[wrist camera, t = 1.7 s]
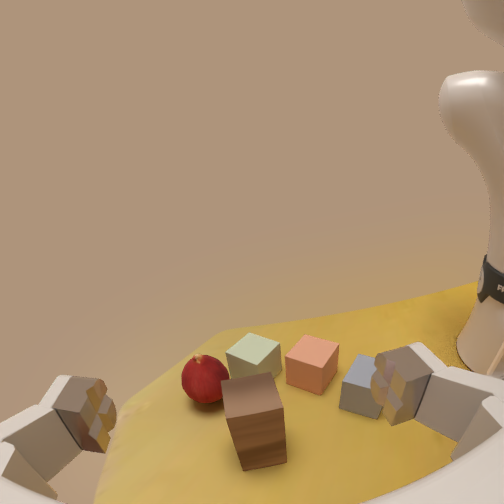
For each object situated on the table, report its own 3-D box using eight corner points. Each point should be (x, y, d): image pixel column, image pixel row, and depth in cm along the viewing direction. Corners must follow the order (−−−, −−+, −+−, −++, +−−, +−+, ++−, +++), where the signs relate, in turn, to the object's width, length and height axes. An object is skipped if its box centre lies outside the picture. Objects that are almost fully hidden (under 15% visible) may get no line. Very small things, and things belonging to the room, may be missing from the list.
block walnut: (286, 462, 23) (283, 407, 20) (243, 471, 22) (225, 418, 19) (277, 431, 27) (270, 371, 24) (237, 439, 27) (220, 380, 23)
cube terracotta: (336, 371, 35) (339, 343, 34) (320, 395, 32) (322, 368, 30) (305, 361, 38) (304, 334, 37) (286, 383, 35) (285, 356, 33)
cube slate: (389, 391, 30) (396, 362, 28) (376, 419, 26) (385, 392, 24) (354, 381, 33) (358, 353, 31) (338, 408, 29) (342, 380, 27)
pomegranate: (197, 382, 36) (183, 337, 34) (237, 385, 35) (228, 339, 33) (184, 413, 31) (165, 368, 28) (228, 418, 30) (215, 372, 27)
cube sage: (281, 370, 37) (279, 342, 36) (260, 392, 34) (256, 365, 32) (253, 359, 40) (249, 332, 39) (231, 379, 37) (225, 351, 35)
